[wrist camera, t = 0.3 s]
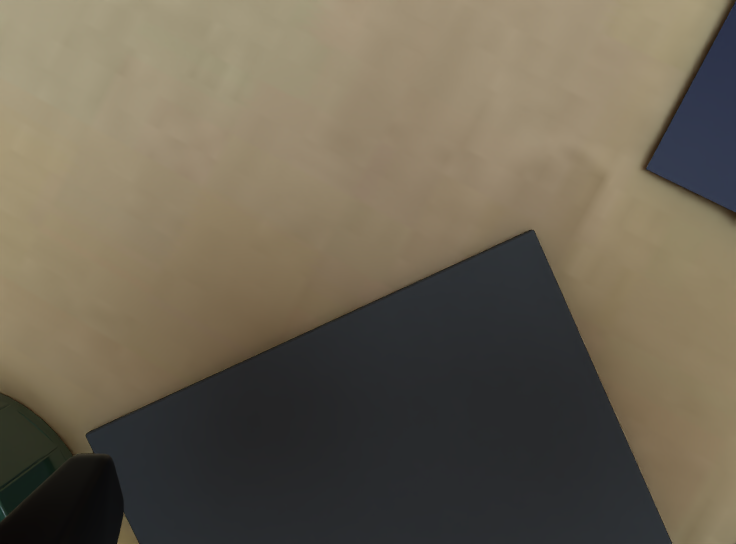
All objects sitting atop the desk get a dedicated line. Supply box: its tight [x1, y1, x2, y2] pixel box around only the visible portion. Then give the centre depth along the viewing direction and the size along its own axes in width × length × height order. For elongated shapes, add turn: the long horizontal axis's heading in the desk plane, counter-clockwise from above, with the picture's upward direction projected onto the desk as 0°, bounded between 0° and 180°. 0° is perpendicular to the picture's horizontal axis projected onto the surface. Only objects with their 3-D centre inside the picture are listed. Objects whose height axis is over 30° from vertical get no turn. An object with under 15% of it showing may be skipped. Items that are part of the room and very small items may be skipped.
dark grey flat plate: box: [86, 230, 672, 544], centre depth 23 cm, size 12×16×1 cm
